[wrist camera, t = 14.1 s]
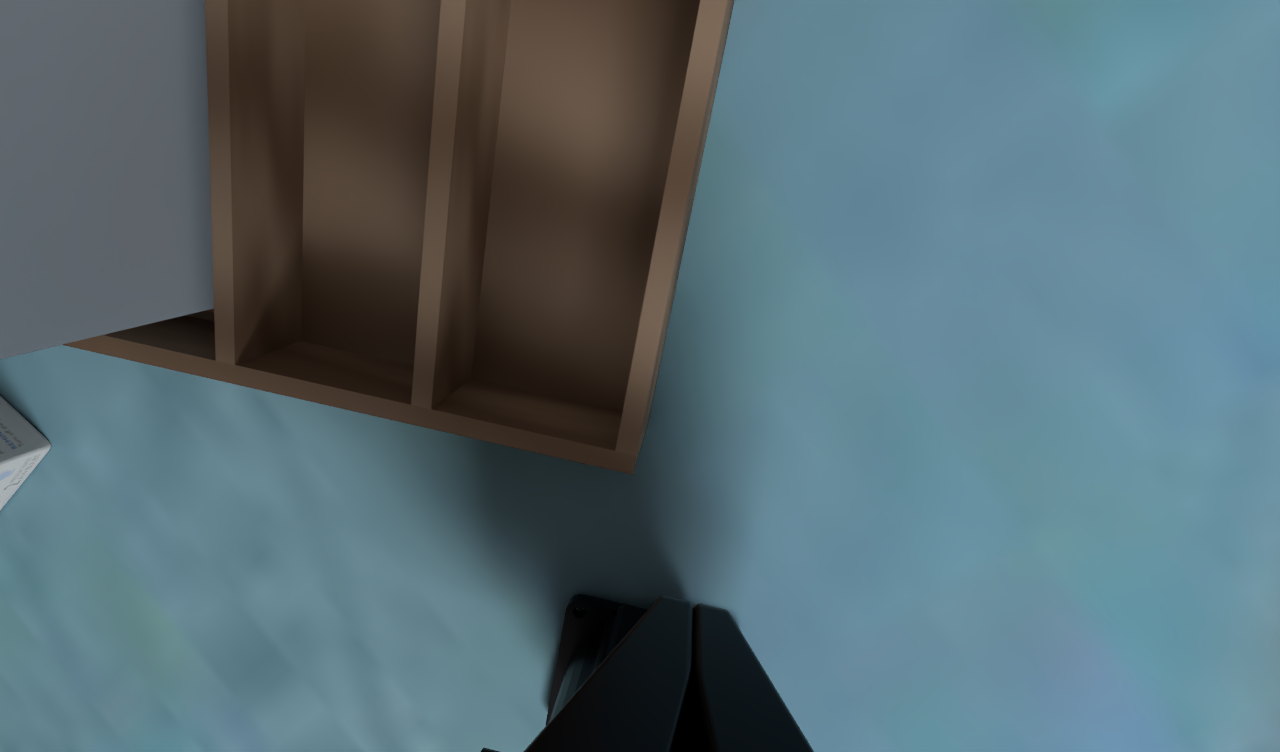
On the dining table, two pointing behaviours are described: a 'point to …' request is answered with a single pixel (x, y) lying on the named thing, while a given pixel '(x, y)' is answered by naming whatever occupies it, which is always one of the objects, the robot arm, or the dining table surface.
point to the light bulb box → (17, 450)
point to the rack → (450, 210)
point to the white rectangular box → (102, 168)
